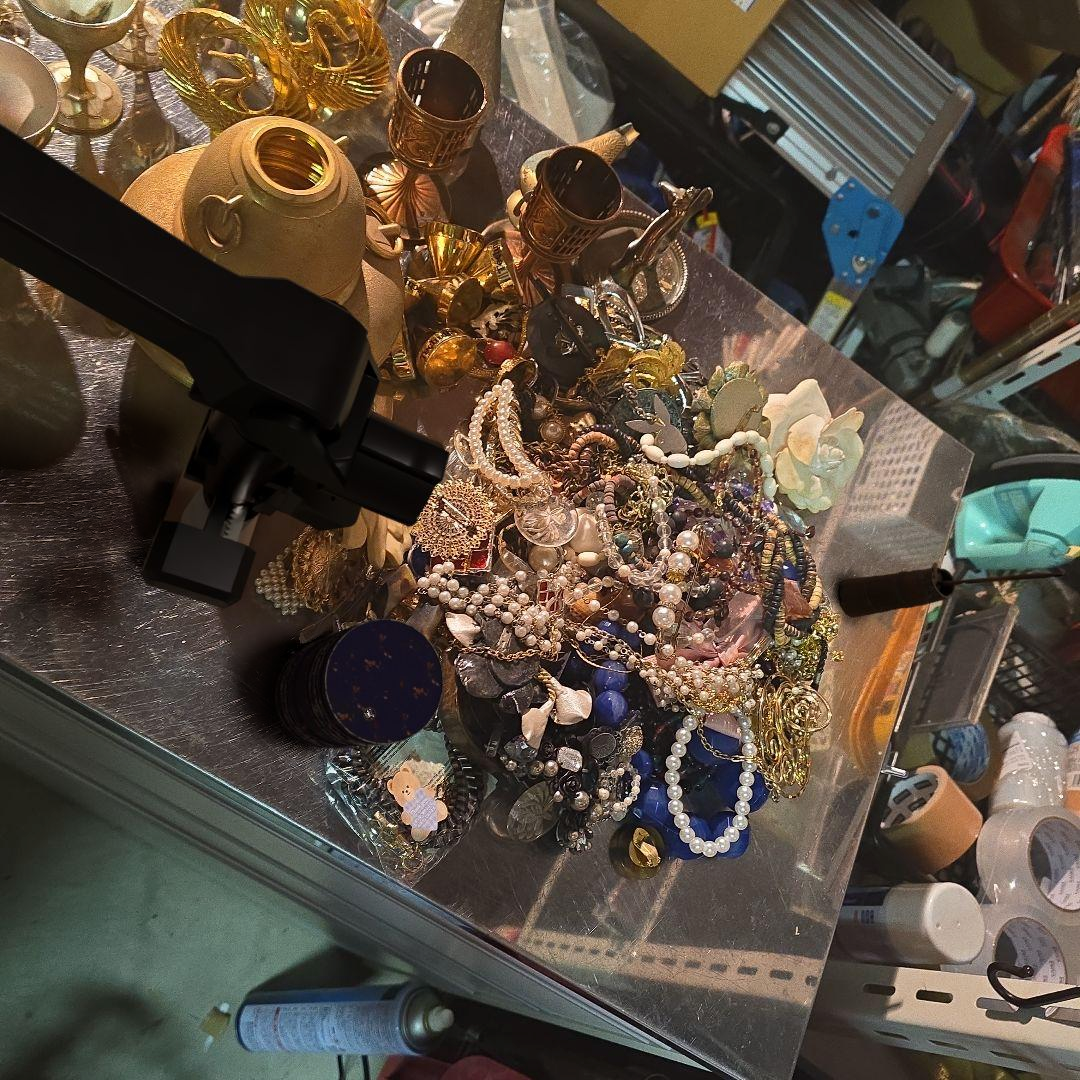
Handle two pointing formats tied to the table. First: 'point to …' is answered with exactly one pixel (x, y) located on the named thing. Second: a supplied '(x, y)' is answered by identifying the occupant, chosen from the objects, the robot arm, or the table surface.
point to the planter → (201, 507)
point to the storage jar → (361, 686)
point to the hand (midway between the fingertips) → (209, 496)
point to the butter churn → (908, 589)
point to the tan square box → (183, 496)
